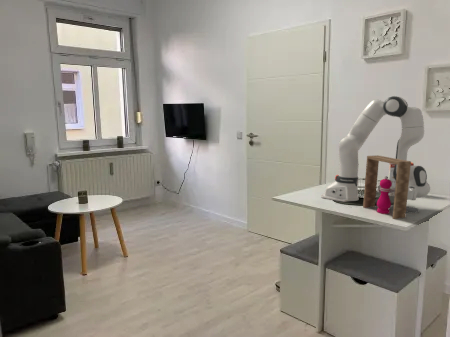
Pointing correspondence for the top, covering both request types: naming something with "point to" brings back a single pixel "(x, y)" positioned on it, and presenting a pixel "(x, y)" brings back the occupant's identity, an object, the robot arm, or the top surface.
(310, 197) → the top surface
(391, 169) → the cracker box
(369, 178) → the walnut arch
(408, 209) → the charcoal mat
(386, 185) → the pepper mill
